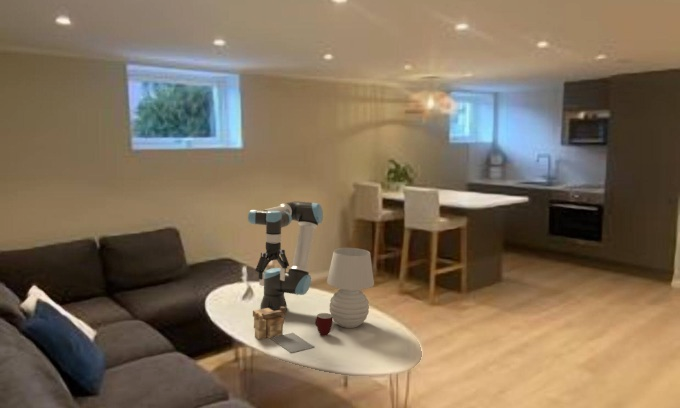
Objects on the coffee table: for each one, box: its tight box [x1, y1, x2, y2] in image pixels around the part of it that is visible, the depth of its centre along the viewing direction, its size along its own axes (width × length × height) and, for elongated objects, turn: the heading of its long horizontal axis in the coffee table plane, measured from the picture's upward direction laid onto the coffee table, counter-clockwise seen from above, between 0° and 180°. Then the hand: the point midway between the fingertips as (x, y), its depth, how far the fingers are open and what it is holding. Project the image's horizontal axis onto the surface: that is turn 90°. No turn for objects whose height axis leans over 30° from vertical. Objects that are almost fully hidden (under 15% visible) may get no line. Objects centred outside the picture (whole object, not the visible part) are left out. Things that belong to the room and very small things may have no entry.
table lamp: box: [326, 247, 375, 329], centre depth 275 cm, size 25×25×40 cm
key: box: [262, 306, 287, 319], centre depth 257 cm, size 12×2×4 cm, turn 126°
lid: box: [252, 308, 285, 327], centre depth 262 cm, size 9×17×3 cm, turn 36°
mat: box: [270, 332, 315, 354], centre depth 250 cm, size 13×20×1 cm, turn 36°
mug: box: [314, 312, 334, 337], centre depth 262 cm, size 11×8×10 cm
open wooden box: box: [253, 313, 284, 340], centre depth 261 cm, size 13×16×12 cm
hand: (272, 282), depth 260 cm, fingers open, 13 cm apart
